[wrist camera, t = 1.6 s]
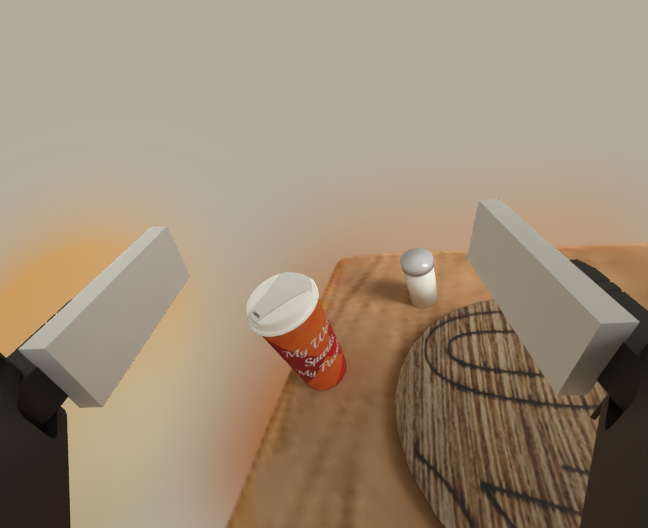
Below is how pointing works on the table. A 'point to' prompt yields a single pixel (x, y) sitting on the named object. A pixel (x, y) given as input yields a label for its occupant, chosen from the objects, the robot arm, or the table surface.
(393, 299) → the table surface
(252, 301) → the paper cup
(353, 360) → the table surface
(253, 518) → the table surface
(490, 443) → the trivet
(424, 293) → the salt shaker
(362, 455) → the table surface
